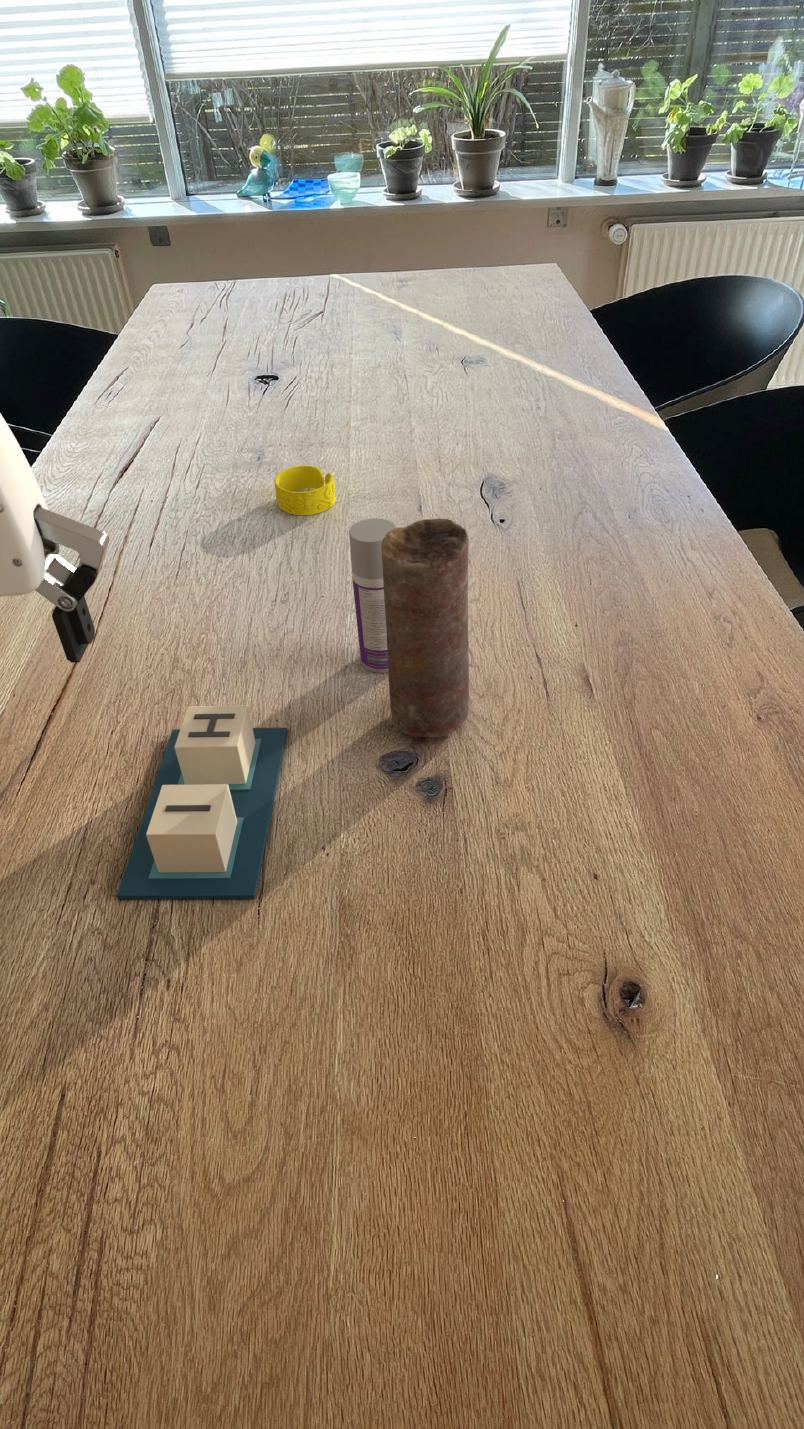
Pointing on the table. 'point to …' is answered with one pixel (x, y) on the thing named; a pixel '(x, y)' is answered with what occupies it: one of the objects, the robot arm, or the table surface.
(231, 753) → the tile
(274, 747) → the word mat
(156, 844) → the tile
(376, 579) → the container
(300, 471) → the bracelet
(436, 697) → the candle
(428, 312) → the table surface
